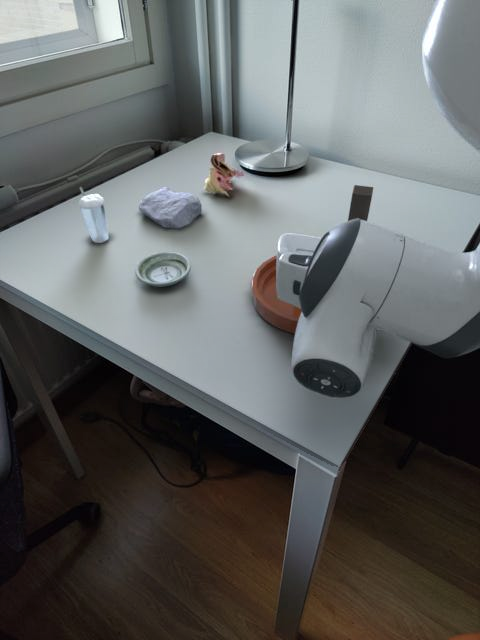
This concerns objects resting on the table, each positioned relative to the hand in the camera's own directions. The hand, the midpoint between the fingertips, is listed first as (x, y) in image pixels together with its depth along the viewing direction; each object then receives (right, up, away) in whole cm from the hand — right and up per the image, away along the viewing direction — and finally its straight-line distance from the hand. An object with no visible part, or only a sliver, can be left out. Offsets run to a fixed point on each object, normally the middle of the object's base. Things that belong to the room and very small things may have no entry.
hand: (354, 234), depth 68 cm
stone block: (-32, +10, +31) cm, 46 cm away
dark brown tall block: (0, -5, +4) cm, 7 cm away
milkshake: (-45, +4, +24) cm, 51 cm away
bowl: (-5, -9, +9) cm, 14 cm away
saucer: (-30, -5, +14) cm, 34 cm away
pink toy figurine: (-20, +18, +40) cm, 48 cm away
